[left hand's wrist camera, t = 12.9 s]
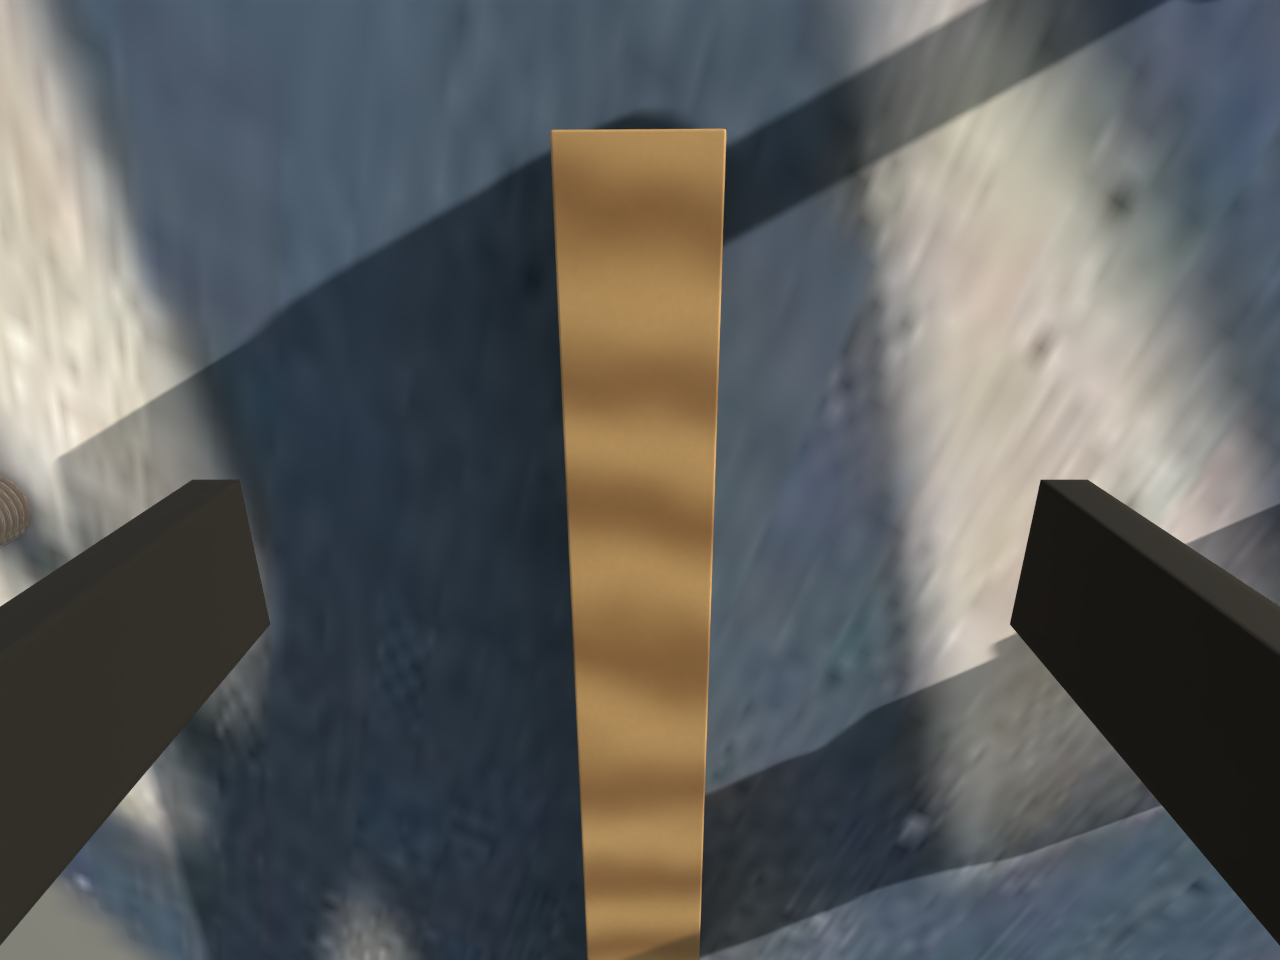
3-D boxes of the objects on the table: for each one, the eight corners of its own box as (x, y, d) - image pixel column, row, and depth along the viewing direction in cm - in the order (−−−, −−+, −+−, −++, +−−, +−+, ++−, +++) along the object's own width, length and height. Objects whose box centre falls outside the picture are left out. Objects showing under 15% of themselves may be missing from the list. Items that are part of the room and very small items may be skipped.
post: (570, 143, 31) (549, 129, 24) (706, 143, 31) (726, 128, 24) (605, 1091, 53) (599, 1234, 46) (683, 1091, 53) (690, 1234, 46)
